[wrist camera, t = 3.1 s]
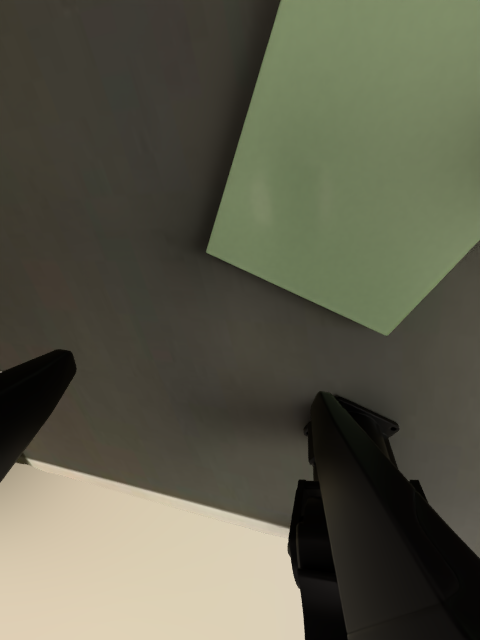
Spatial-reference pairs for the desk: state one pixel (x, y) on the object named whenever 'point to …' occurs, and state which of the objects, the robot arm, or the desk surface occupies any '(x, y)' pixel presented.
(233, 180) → the board
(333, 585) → the robot arm
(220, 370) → the desk surface
